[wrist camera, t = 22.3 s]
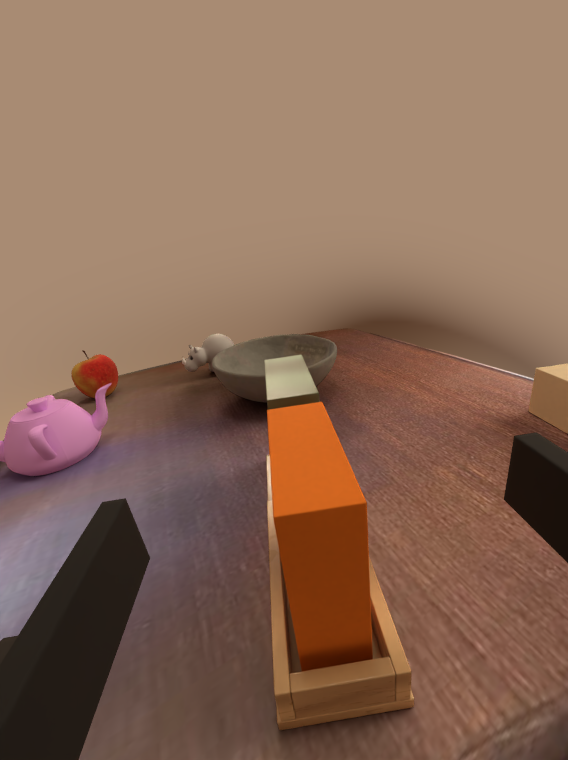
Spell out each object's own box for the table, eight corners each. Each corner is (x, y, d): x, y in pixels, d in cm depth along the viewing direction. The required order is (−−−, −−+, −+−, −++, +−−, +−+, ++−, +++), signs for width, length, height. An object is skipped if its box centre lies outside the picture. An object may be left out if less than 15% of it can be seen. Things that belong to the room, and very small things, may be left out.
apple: (103, 404, 62) (85, 356, 58) (72, 404, 64) (53, 357, 61) (132, 387, 69) (117, 343, 65) (103, 387, 71) (87, 345, 68)
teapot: (-16, 480, 42) (-50, 422, 39) (76, 426, 54) (56, 379, 51) (45, 491, 38) (12, 428, 35) (130, 431, 50) (111, 379, 47)
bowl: (277, 365, 70) (272, 330, 67) (363, 380, 57) (361, 337, 54) (198, 404, 56) (187, 362, 53) (286, 437, 43) (278, 382, 40)
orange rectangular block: (373, 668, 18) (366, 502, 13) (303, 680, 18) (272, 517, 13) (333, 526, 27) (322, 401, 23) (287, 534, 27) (266, 409, 22)
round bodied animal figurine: (182, 378, 70) (172, 341, 67) (230, 363, 76) (223, 328, 73) (193, 386, 65) (182, 347, 61) (244, 369, 70) (237, 332, 67)
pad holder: (414, 707, 17) (422, 525, 12) (279, 731, 16) (233, 556, 12) (325, 451, 39) (316, 351, 34) (266, 460, 38) (249, 360, 34)
